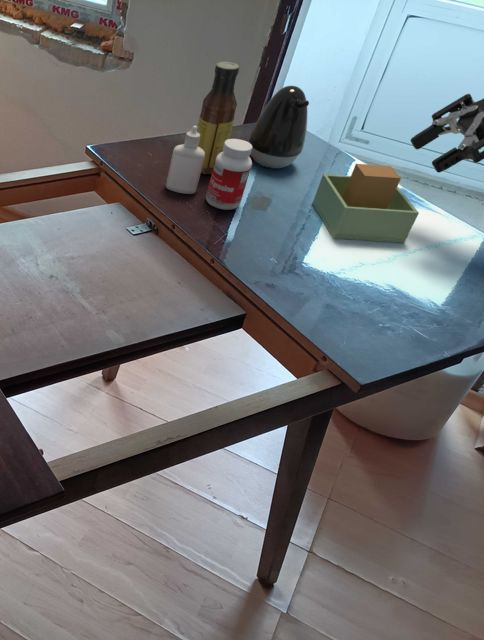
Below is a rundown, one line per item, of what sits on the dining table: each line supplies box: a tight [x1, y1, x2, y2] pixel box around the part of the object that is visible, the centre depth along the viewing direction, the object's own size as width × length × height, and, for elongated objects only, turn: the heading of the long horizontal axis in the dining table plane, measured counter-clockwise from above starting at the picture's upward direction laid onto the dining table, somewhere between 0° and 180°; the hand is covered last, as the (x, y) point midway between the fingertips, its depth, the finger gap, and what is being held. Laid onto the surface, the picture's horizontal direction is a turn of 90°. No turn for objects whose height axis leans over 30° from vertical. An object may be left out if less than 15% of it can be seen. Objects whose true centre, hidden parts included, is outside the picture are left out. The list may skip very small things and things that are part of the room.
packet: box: [342, 163, 402, 209], centre depth 117 cm, size 4×6×9 cm
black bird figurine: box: [248, 85, 310, 169], centre depth 132 cm, size 10×10×15 cm
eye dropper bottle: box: [165, 125, 205, 195], centre depth 123 cm, size 4×6×12 cm
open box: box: [312, 173, 420, 244], centre depth 119 cm, size 12×12×6 cm
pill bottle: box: [205, 138, 253, 211], centre depth 120 cm, size 6×6×11 cm
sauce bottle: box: [197, 61, 240, 174], centre depth 127 cm, size 7×6×20 cm
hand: (423, 156), depth 110 cm, fingers open, 8 cm apart
